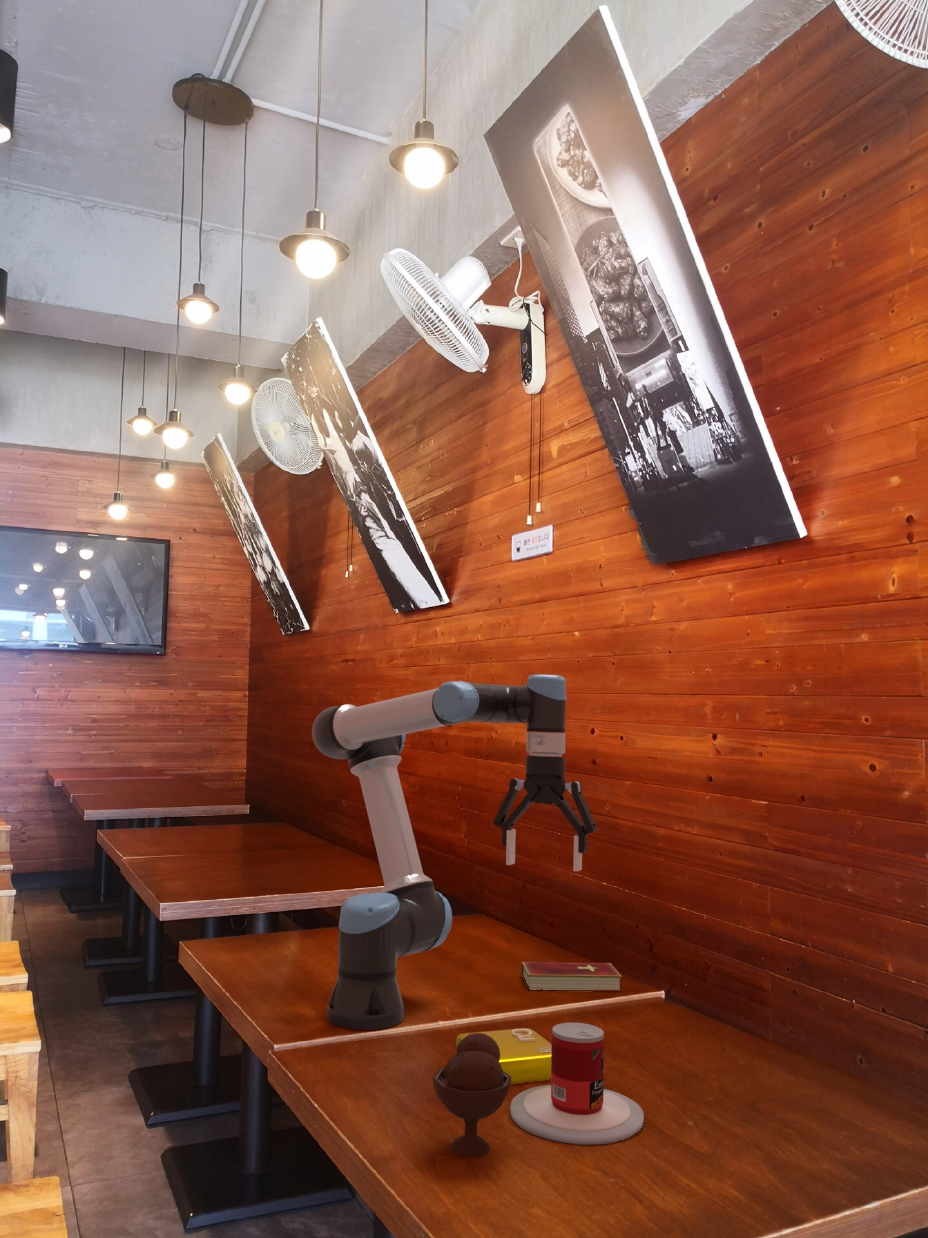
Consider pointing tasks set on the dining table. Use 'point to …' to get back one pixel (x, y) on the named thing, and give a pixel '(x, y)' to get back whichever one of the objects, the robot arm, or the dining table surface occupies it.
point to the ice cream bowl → (472, 1089)
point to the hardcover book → (571, 976)
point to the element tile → (521, 1054)
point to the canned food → (577, 1068)
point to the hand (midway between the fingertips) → (543, 867)
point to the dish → (576, 1118)
